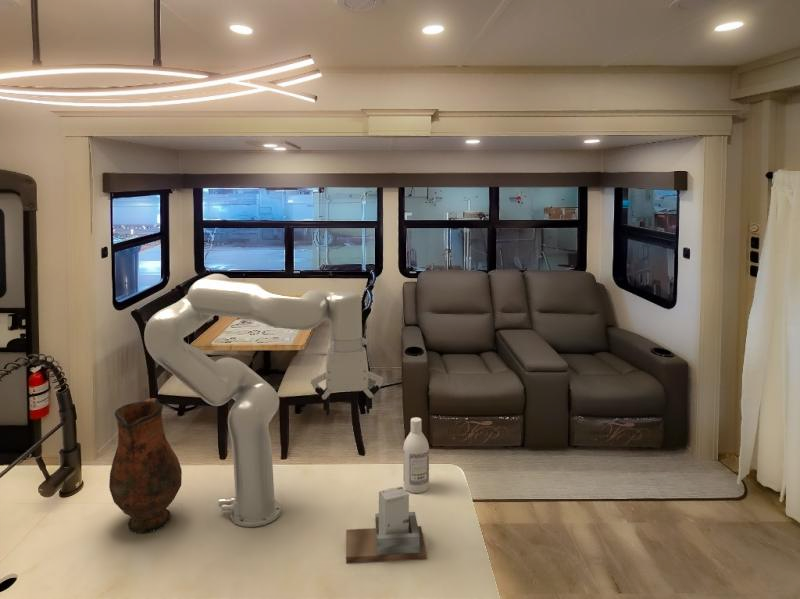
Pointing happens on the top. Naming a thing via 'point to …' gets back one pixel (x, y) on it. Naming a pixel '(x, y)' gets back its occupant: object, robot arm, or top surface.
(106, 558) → the top surface
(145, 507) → the pitcher
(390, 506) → the skincare box
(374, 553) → the u rest
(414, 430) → the bath foam
